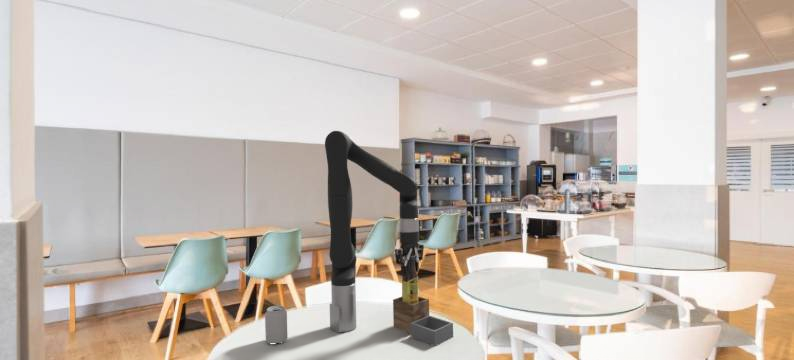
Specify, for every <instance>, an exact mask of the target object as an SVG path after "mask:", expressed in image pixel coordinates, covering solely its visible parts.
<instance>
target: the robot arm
mask: <svg viewBox="0 0 794 360" xmlns="http://www.w3.org/2000/svg"><path fill="white" fill-rule="evenodd" d="M324 148H325V154H326V155H325V156H326V161H327V208H328V219H329V226H330V244H329V260H330V262H331V276H330V280H331V281H330V282H331V287H330V288H331V303H329V328H330V330H333V331H334V332H337V333H339V334H340V333H346V332H347V333H348V332H351V331H353V330H356V328H357V300H356V299H357V295H356V293H357V291H356V272H357V266H356V265H357V264H356V262H357V261H356V260H357V259H356V248H355V246H354V245H353V243H352V236H351V225H352V217H353V187H352V184H351V178H350V175H349V169H348V161H351V162H352V163H354V164H356V165H357V166H359V167H360V168H362V169H363V170H364V171H366V172H367V173H368V174H370V175H371V176H373V177H374V178H376V179H377V180H378V181H381V182H382V183H383V184H386V185H387V186H390V187H391V188H392V189H394V190H395V191H396V192H398V193H399V200H400V201H399V202H400V206H399V231H398V232H399V243H400V245H401V246H400V248H395V249H394V256H395V262H396V265H399V266H400V274H401V275H403V276H406V275H407V266H406V265H407V261H408V260H409V258H410V257H411V256H415V269H416V272H417V273H419V270H420V269H419V268H420V264H419V263H420V262H421V261H423V259H424V247H425V246H424V244H419V243H420V223H419V222H420V221H419V205H418V189H419V185H418V183H417V181H416V180H415V179H414V178H412V177H410V176H409V175H407V174H405V173H403V172H401V171H399V170H398V169H397V168H396V167H394V166H392V165H391V164H389V163H388V162H386V161H384V160H383V159H381V158H379V157H377V156H375V155H373V154H371V153H370V152H367V151H366V150H365V149H363V148H362V147H360V146H359V145H358V144H356V143H355V142H354V141H353V140H352V139H351V138H350V136H348V135H347V134H346V133H345V132H342V131H340V130H333V131H330V132H329V133H328V134H327V136H325V141H324Z"/></svg>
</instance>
